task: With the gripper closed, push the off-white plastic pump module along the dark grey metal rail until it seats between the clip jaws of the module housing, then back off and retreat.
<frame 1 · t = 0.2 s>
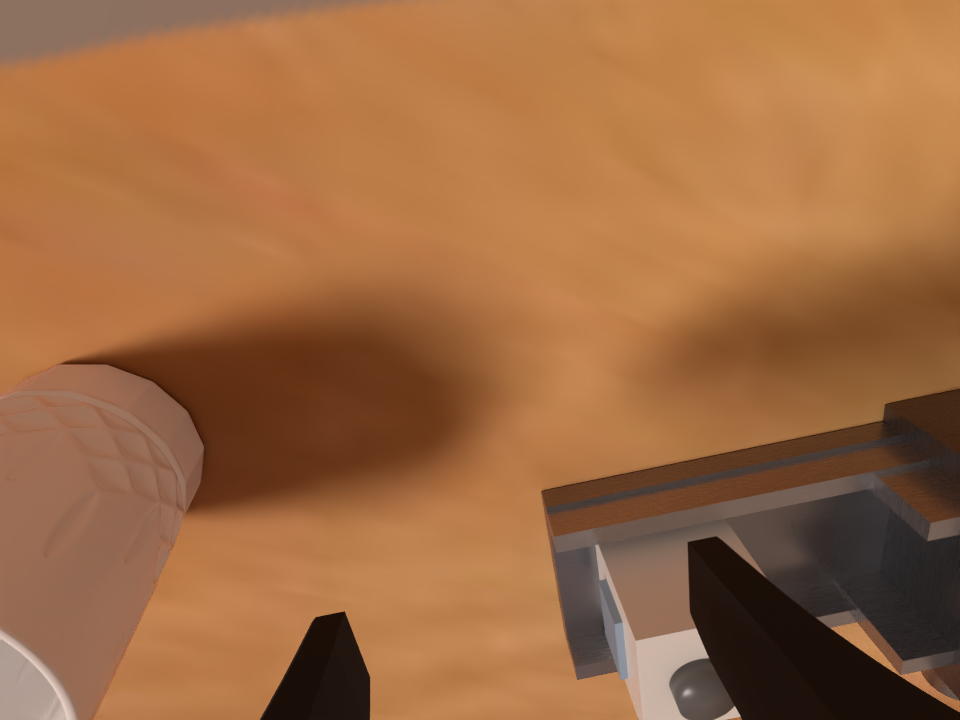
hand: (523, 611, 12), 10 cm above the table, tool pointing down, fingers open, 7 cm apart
module housing: (826, 512, 25), on the table
pump module: (683, 625, 22), point 4 cm above the table, slide at 7.0 cm
white cup: (109, 443, 21), on the table
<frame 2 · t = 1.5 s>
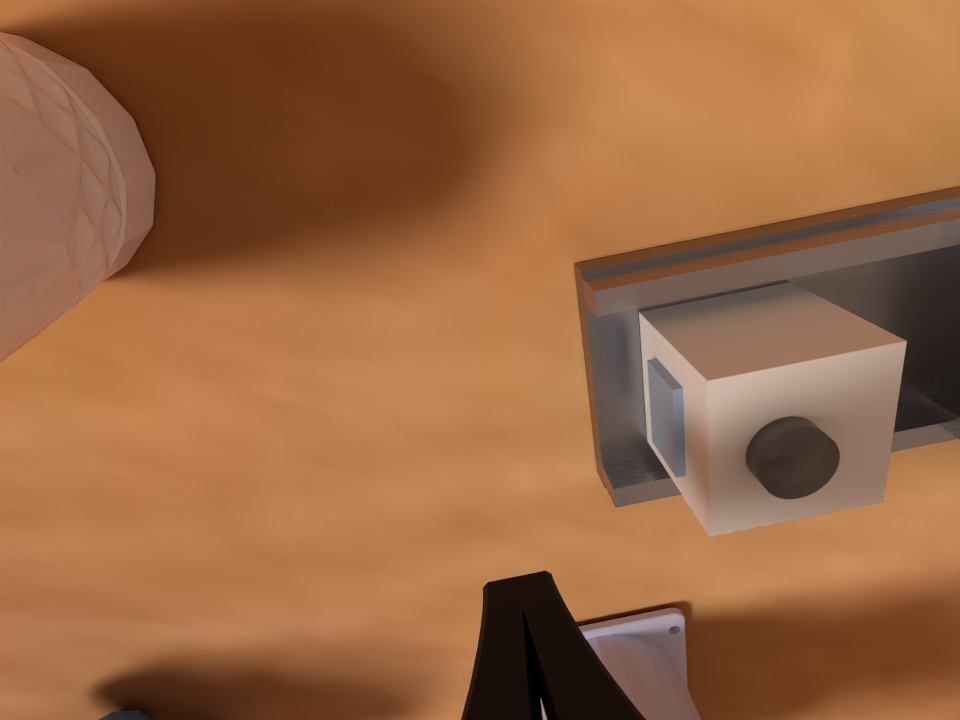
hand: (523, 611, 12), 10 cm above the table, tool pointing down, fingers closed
module housing: (915, 310, 21), on the table
pump module: (754, 407, 17), point 4 cm above the table, slide at 7.0 cm
white cup: (37, 168, 17), on the table
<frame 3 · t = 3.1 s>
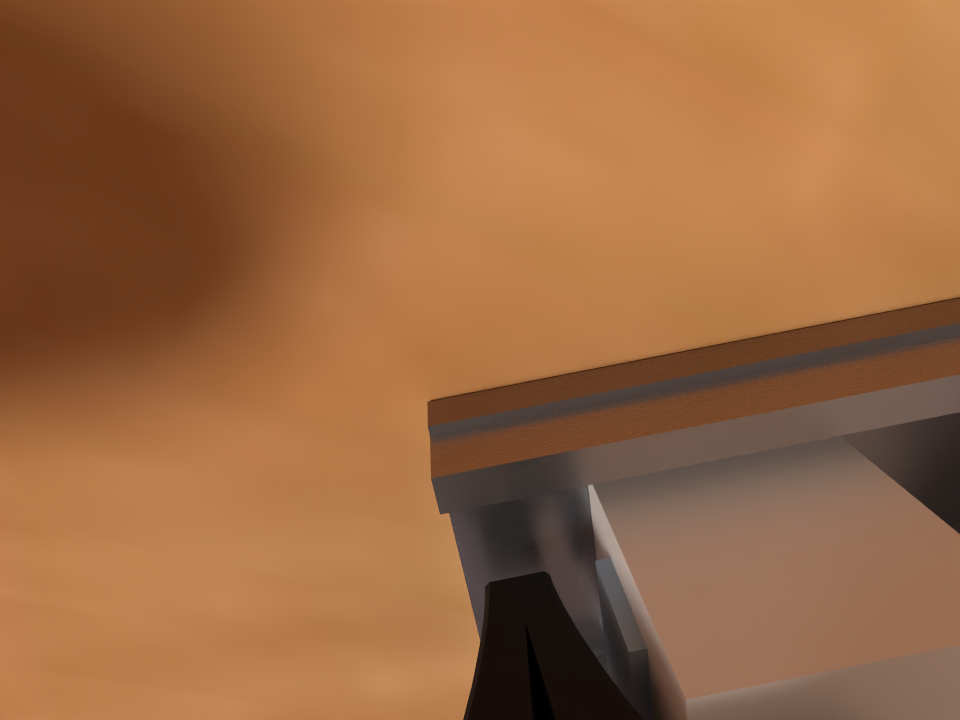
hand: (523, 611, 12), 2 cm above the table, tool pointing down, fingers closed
module housing: (953, 456, 14), on the table
pump module: (769, 653, 10), point 4 cm above the table, slide at 5.7 cm, touching gripper
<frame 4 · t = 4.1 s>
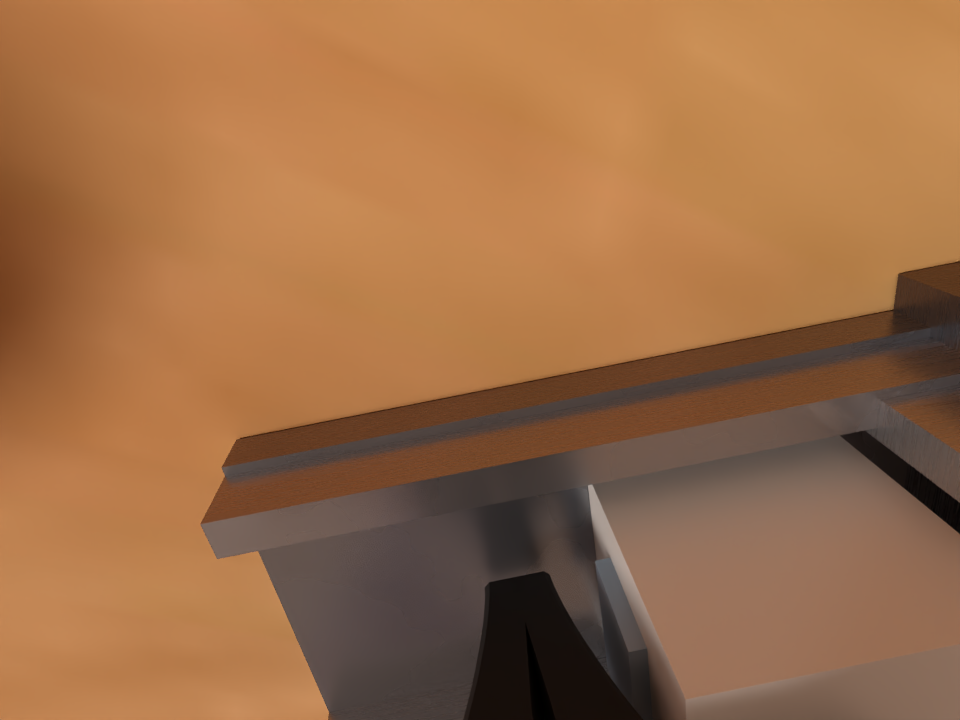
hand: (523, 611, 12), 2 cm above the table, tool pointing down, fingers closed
module housing: (789, 488, 14), on the table
pump module: (769, 653, 10), point 4 cm above the table, slide at 1.7 cm, touching gripper
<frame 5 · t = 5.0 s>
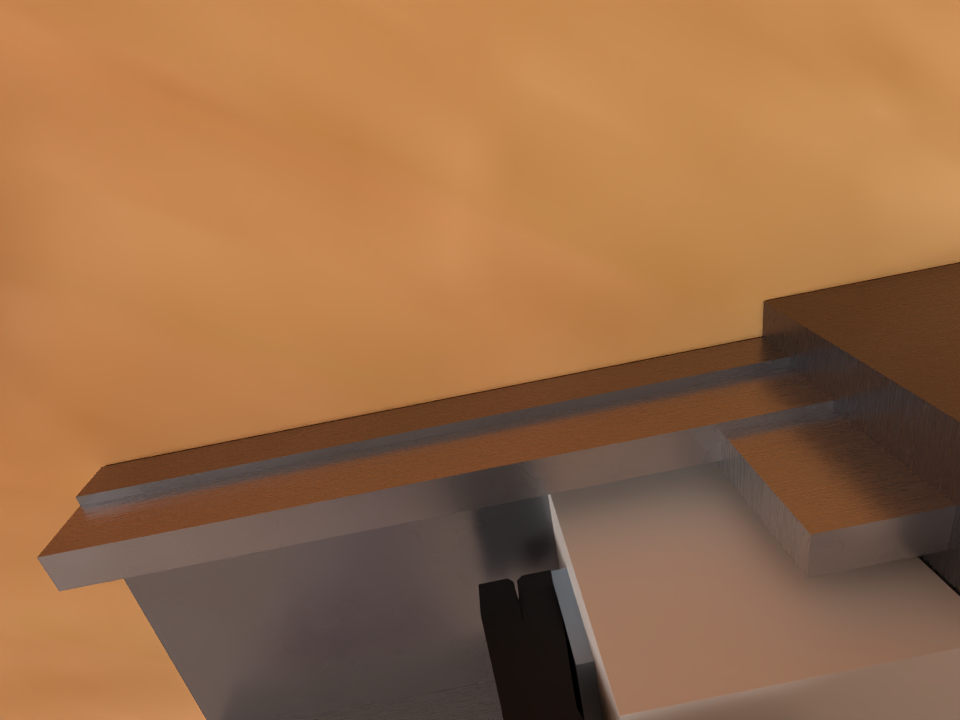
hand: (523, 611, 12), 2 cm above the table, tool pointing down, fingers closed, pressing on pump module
module housing: (674, 512, 14), on the table
pump module: (723, 664, 10), point 4 cm above the table, slide at -0.3 cm, touching gripper
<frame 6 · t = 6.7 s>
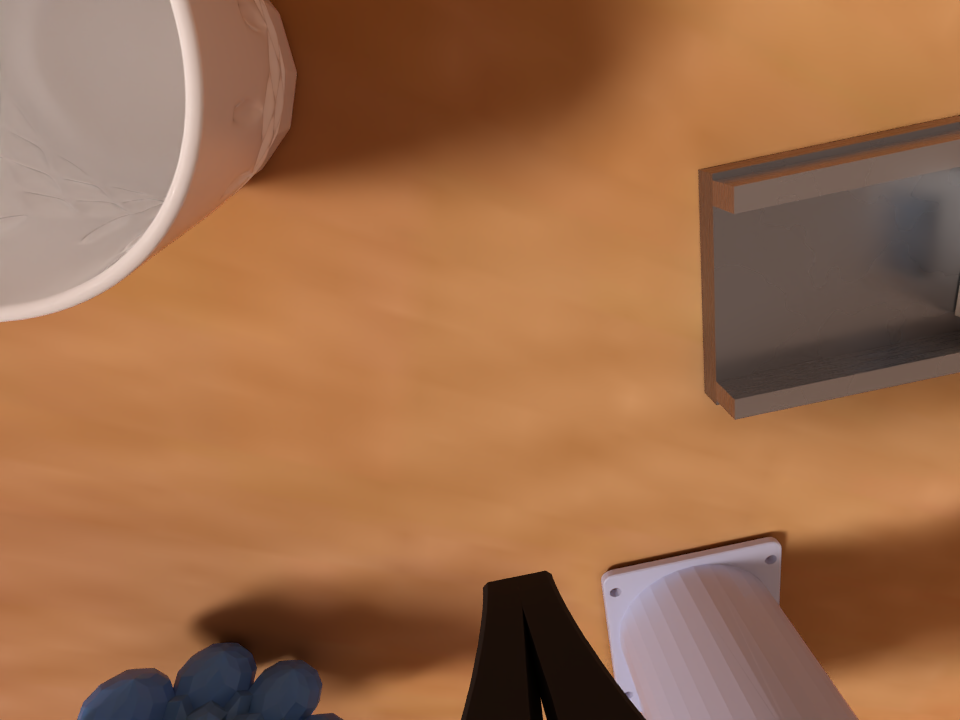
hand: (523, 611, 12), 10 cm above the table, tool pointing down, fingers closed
grapes: (232, 658, 26), on the table
white cup: (179, 69, 17), on the table
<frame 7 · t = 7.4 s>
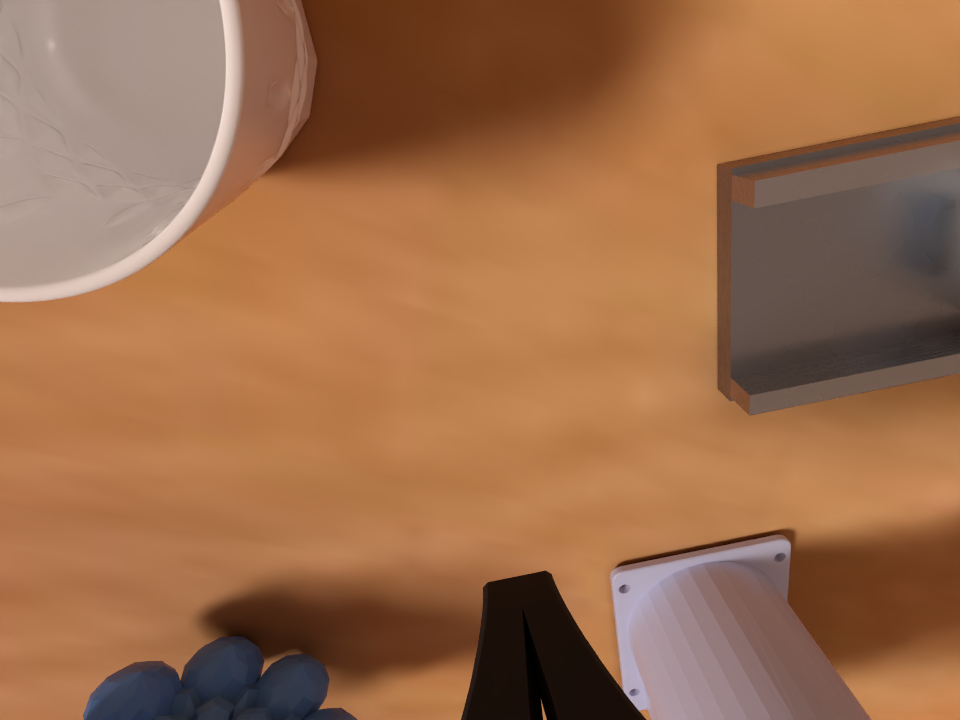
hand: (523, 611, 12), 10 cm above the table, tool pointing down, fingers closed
grapes: (238, 652, 26), on the table
white cup: (198, 55, 17), on the table
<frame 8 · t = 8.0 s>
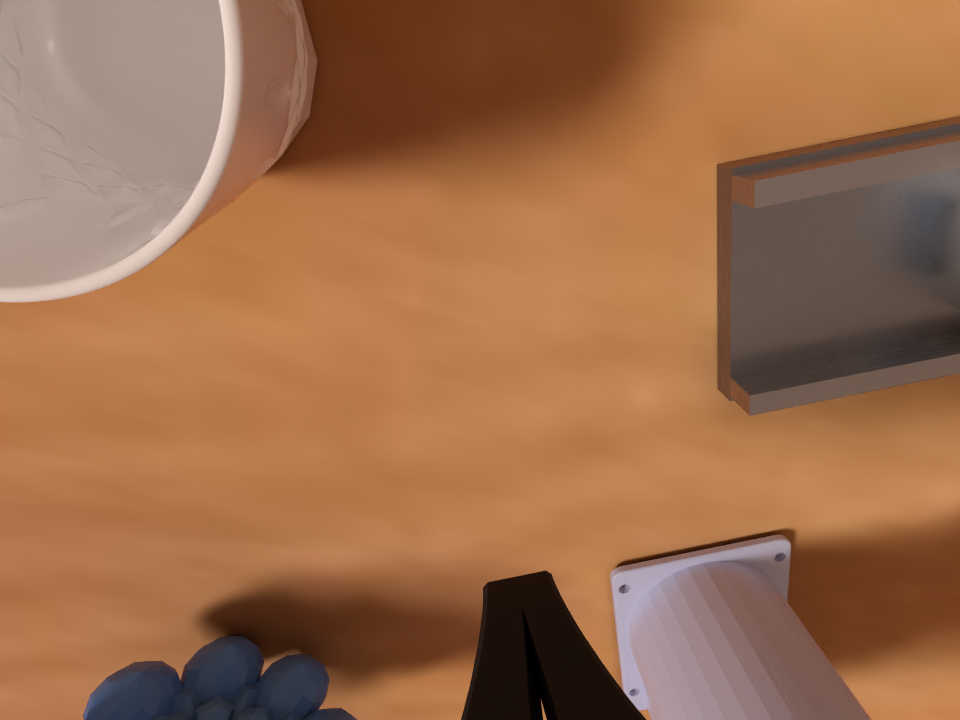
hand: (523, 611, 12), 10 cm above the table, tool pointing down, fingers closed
grapes: (238, 652, 26), on the table
white cup: (198, 55, 17), on the table
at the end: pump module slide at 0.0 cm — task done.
